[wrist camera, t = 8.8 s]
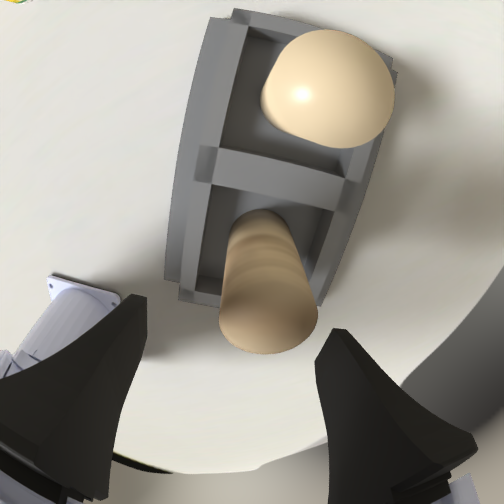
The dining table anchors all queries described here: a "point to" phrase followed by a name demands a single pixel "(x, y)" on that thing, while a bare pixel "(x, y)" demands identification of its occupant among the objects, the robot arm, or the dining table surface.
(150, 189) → the dining table surface
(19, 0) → the supplement bottle
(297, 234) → the rack
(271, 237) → the oak peg
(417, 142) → the dining table surface
